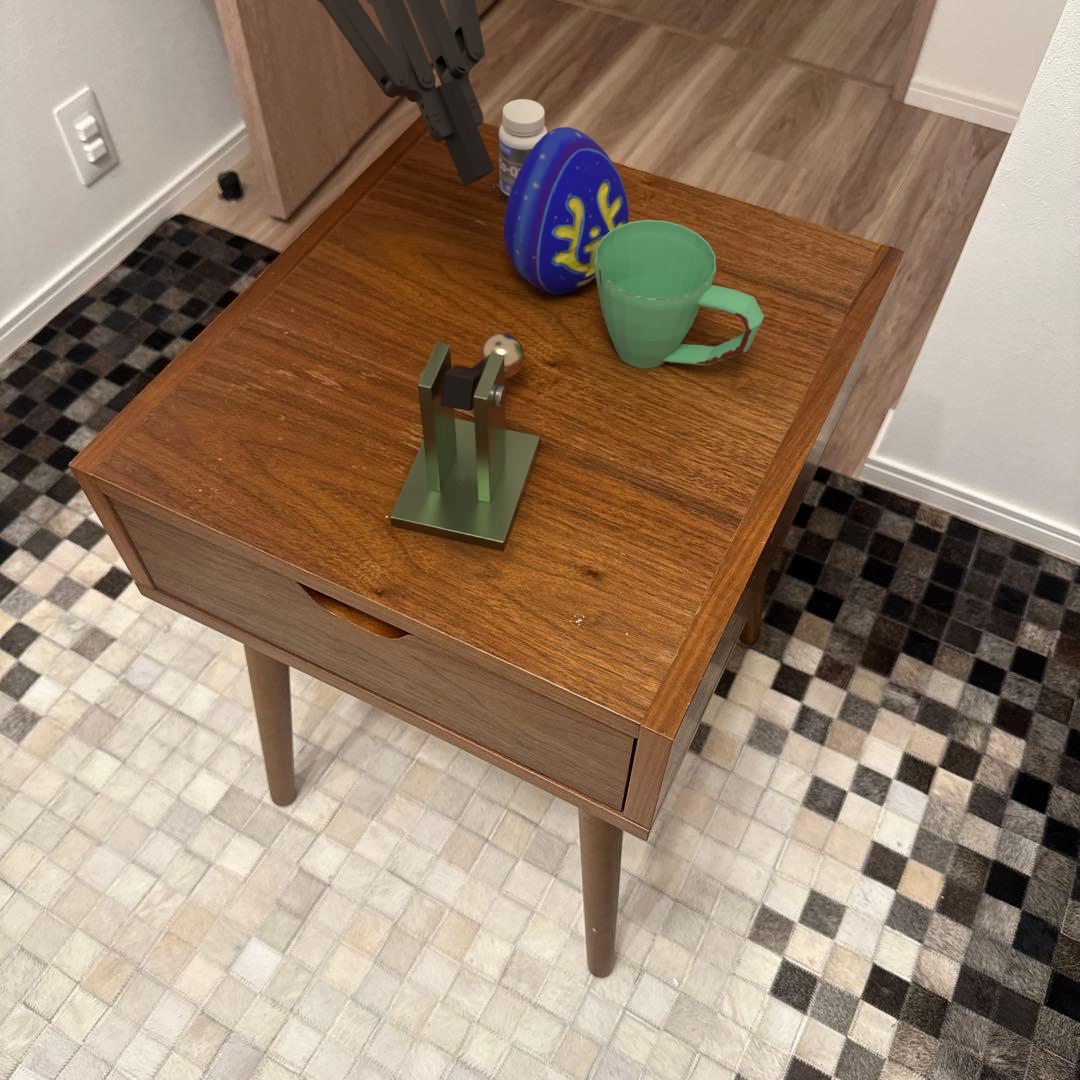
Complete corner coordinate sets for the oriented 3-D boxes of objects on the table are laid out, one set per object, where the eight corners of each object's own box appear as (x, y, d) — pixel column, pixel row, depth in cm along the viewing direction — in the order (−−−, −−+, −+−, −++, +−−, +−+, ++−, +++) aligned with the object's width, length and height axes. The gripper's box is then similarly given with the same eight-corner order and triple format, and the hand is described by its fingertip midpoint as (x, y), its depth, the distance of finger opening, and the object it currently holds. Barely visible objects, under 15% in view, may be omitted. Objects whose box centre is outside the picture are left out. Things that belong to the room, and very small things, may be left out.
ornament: (544, 329, 96) (548, 186, 83) (483, 274, 100) (478, 130, 87) (637, 279, 100) (654, 135, 87) (575, 228, 104) (583, 84, 92)
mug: (567, 361, 93) (572, 271, 85) (620, 296, 98) (630, 205, 90) (720, 428, 89) (741, 339, 81) (767, 356, 94) (791, 266, 86)
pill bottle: (491, 193, 107) (489, 117, 100) (511, 167, 109) (510, 91, 102) (534, 206, 106) (536, 130, 99) (553, 179, 108) (556, 103, 101)
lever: (483, 368, 90) (489, 326, 88) (525, 377, 89) (531, 334, 88) (429, 411, 76) (435, 362, 74) (478, 421, 75) (485, 372, 74)
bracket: (435, 423, 89) (424, 305, 78) (540, 445, 88) (543, 328, 77) (391, 526, 83) (373, 413, 72) (503, 551, 81) (502, 440, 71)
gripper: (402, -159, 77) (531, 161, 83) (235, -115, 72) (385, 221, 78) (437, -219, 70) (575, 134, 76) (256, -175, 66) (418, 197, 71)
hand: (479, 177), depth 77 cm, fingers closed
